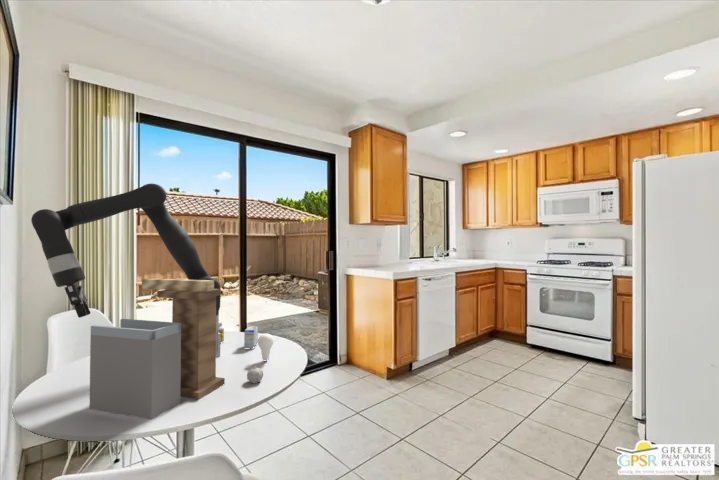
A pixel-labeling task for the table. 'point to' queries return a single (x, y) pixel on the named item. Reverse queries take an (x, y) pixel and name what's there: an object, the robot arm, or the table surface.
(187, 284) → the tan wooden bar
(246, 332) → the medicine box
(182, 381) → the post
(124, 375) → the tray stand
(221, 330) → the supplement bottle
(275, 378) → the table surface
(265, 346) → the lightbulb
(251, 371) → the garlic
